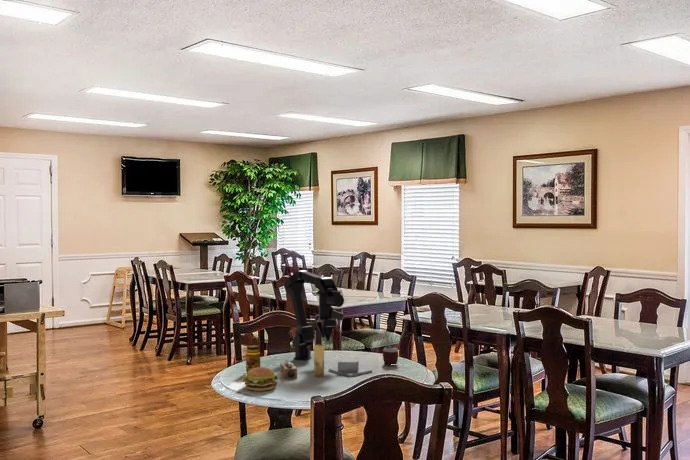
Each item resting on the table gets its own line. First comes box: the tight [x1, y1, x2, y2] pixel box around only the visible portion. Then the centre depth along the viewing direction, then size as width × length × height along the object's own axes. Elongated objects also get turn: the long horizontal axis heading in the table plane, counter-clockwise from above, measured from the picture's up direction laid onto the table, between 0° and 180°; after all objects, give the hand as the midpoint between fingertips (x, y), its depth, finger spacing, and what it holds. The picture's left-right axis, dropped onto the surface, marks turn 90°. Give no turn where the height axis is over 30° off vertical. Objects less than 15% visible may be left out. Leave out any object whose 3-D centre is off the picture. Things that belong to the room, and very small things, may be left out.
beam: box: [279, 361, 298, 380], centre depth 277 cm, size 12×5×4 cm, turn 16°
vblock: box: [328, 357, 373, 378], centre depth 283 cm, size 14×13×5 cm
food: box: [241, 366, 279, 392], centre depth 257 cm, size 14×14×8 cm
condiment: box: [245, 344, 261, 374], centre depth 280 cm, size 7×8×12 cm
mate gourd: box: [382, 330, 399, 367], centre depth 297 cm, size 8×8×15 cm
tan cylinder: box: [313, 344, 325, 378], centre depth 276 cm, size 4×4×13 cm
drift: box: [284, 359, 292, 368], centre depth 277 cm, size 9×2×2 cm, turn 16°
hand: (325, 339), depth 294 cm, fingers open, 9 cm apart
